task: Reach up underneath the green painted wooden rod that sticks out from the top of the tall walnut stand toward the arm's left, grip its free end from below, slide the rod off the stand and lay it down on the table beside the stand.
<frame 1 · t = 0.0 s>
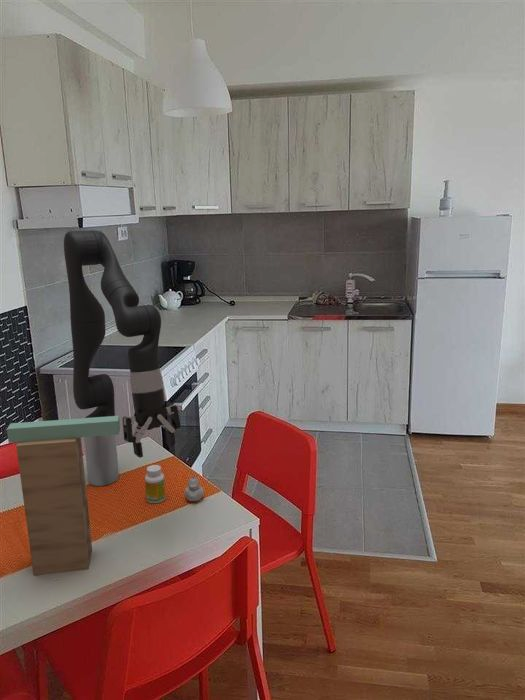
hand: (155, 451, 131), 22 cm above the table, tool pointing down, fingers open, 8 cm apart
rod: (66, 435, 117), point 32 cm above the table, touching stand
grey rounded piece: (194, 499, 152), on the table
stand: (64, 562, 125), on the table
supplement bottle: (155, 499, 152), on the table
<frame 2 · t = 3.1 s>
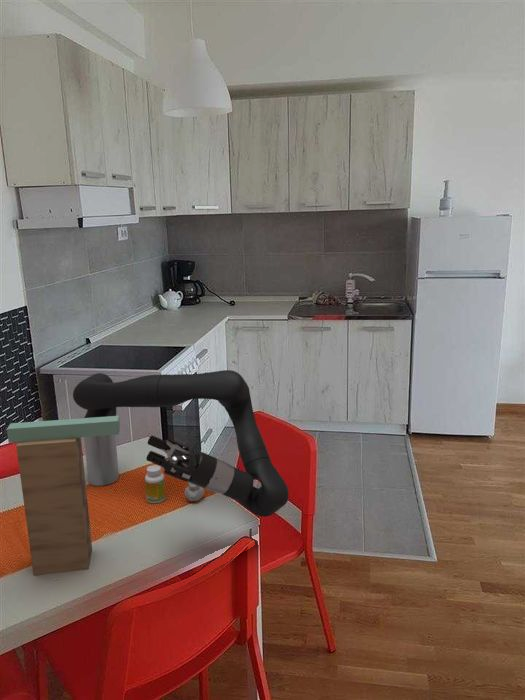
hand: (148, 446, 121), 28 cm above the table, tool pointing upward, fingers open, 8 cm apart
nothing on the table moved.
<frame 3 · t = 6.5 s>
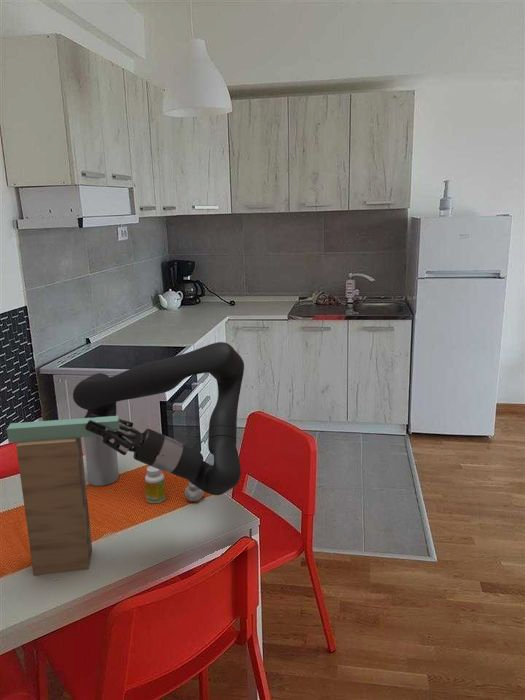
hand: (88, 421, 117), 35 cm above the table, tool pointing upward, fingers closed on rod, 3 cm apart
rod: (65, 435, 117), point 32 cm above the table, touching gripper, stand
everything else where it was.
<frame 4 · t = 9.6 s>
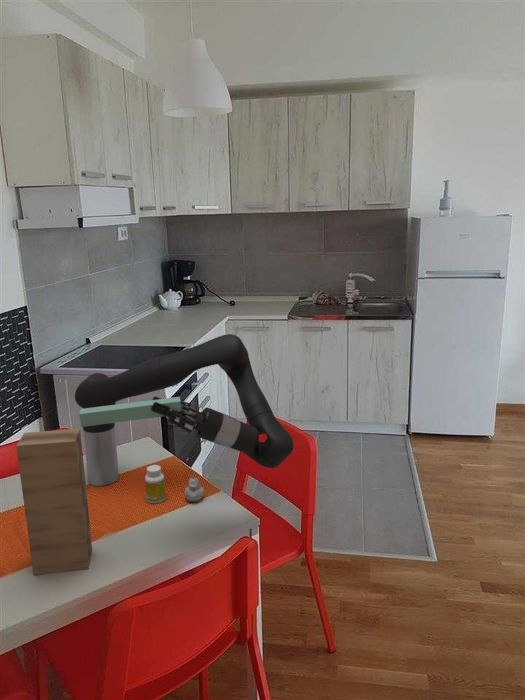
hand: (152, 403, 125), 36 cm above the table, tool pointing upward, fingers closed on rod, 3 cm apart
rod: (132, 417, 125), point 33 cm above the table, touching gripper
everything else where it was.
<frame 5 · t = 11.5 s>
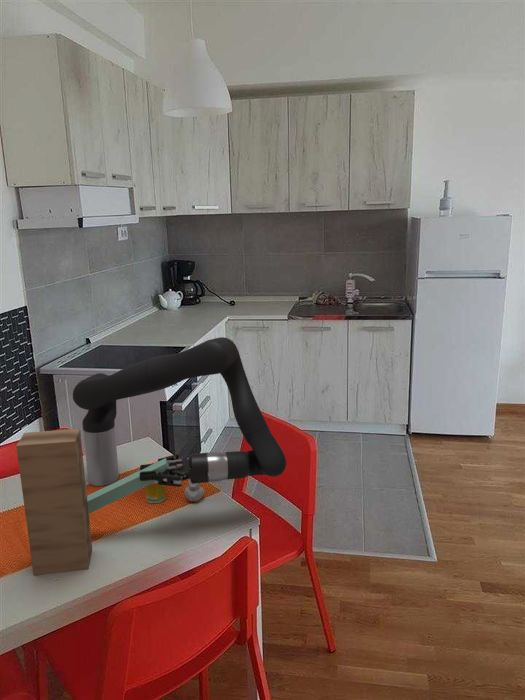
hand: (140, 472, 133), 16 cm above the table, tool horizontal, fingers closed on rod, 3 cm apart
rod: (129, 491, 133), point 12 cm above the table, tilted 23°, touching gripper
everything else where it was.
when the fingers open (12 cm above the table, at t = 13.0 s): rod drops 8 cm, on the table.
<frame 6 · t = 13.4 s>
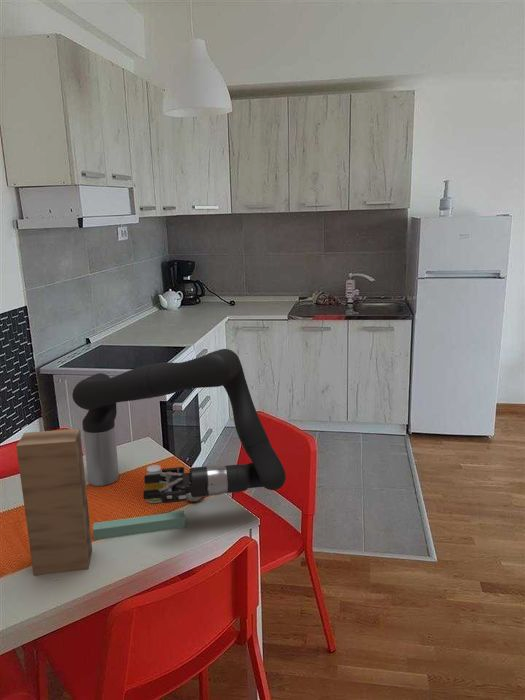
hand: (144, 487, 134), 12 cm above the table, tool horizontal, fingers open, 7 cm apart
rod: (140, 531, 137), on the table
everything else where it was.
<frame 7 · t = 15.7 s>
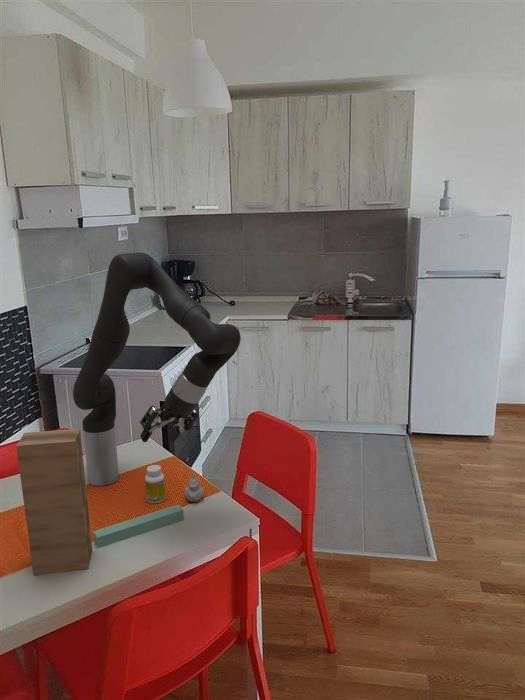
hand: (157, 439, 134), 24 cm above the table, tool tilted 35°, fingers open, 8 cm apart
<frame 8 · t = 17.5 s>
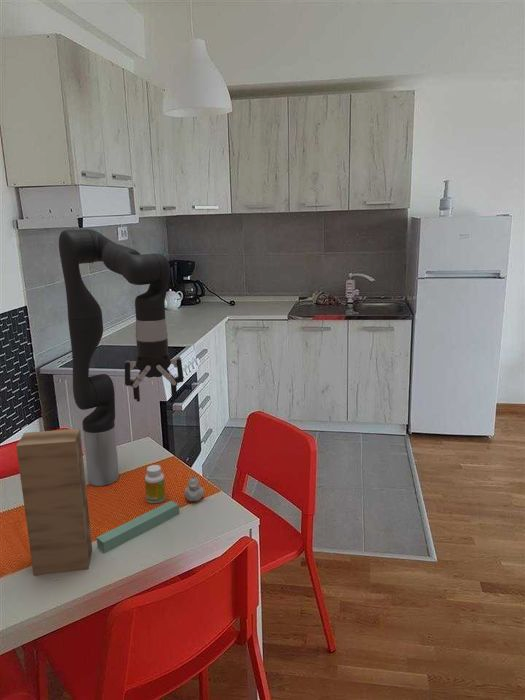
hand: (155, 399, 133), 34 cm above the table, tool pointing down, fingers open, 8 cm apart
at the end: rod inside the target area (2.5 cm from its centre), on the table; rod touching table; the gripper is holding nothing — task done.
